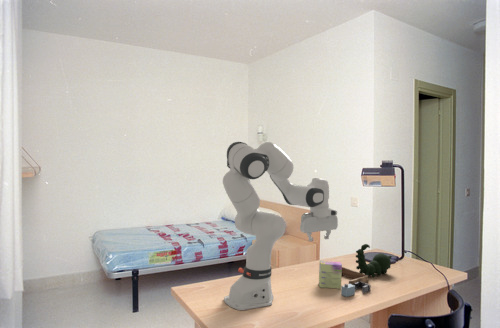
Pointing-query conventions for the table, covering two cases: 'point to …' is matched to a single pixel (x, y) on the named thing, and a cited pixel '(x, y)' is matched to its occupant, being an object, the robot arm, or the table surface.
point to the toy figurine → (372, 263)
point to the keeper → (362, 286)
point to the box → (330, 274)
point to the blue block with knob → (348, 290)
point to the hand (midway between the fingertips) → (318, 240)
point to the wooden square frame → (354, 276)
